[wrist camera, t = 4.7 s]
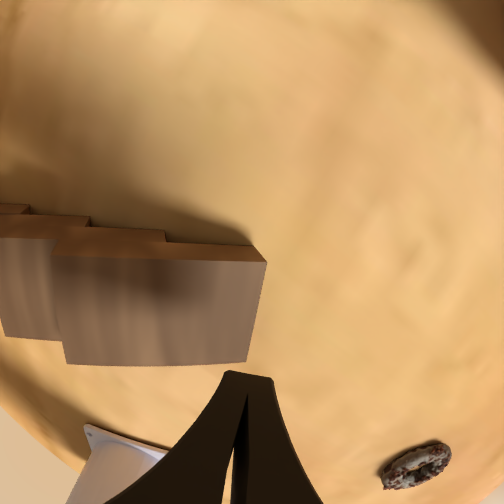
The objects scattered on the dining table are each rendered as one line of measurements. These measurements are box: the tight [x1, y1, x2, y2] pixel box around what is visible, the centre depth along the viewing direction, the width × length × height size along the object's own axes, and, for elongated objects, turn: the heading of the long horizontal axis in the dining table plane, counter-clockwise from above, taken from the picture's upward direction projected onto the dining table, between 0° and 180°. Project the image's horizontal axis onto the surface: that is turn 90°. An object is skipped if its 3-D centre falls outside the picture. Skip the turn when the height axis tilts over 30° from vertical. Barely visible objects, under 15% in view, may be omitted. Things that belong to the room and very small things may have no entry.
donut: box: [381, 443, 452, 490], centre depth 18 cm, size 8×8×2 cm
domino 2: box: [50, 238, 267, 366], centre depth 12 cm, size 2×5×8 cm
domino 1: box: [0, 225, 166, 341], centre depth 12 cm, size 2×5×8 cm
